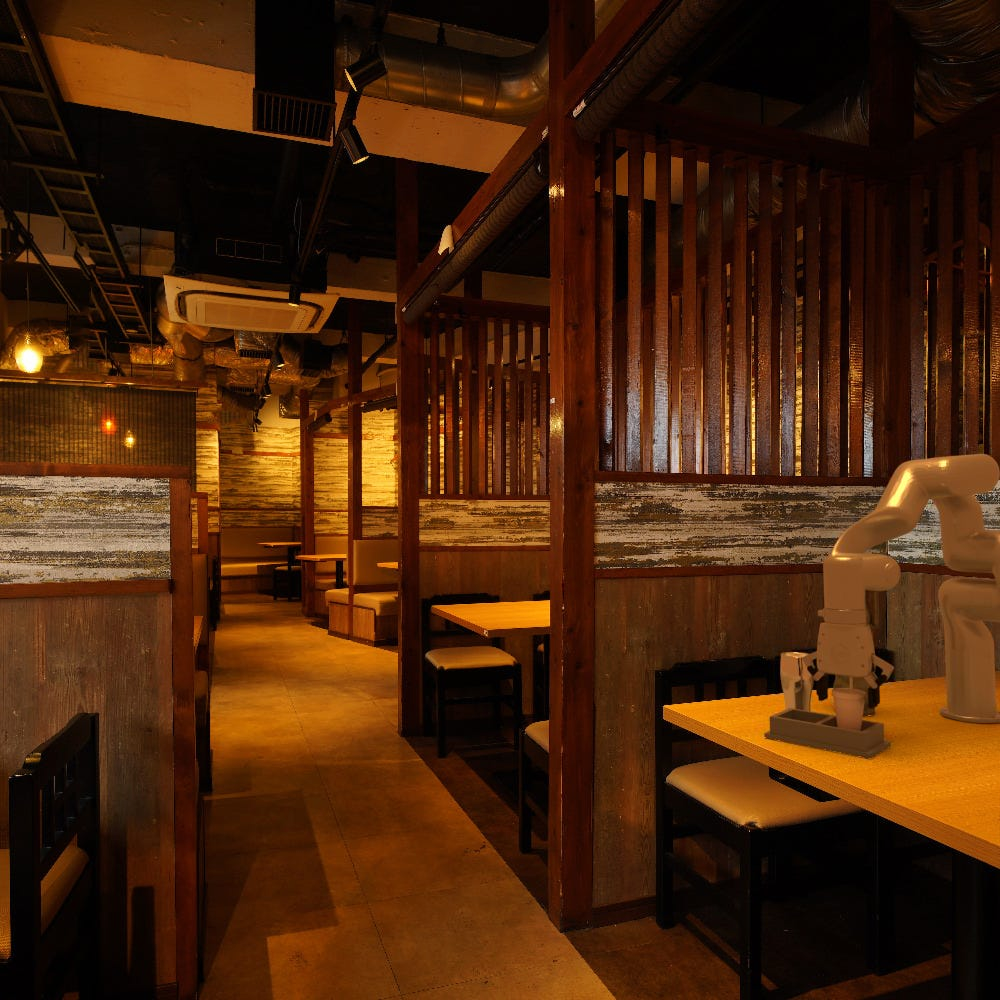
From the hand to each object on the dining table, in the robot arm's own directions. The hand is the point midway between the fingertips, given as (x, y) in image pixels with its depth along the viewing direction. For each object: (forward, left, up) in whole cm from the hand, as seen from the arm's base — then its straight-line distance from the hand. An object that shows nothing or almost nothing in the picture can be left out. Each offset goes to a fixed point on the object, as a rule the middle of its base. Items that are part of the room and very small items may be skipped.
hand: (847, 703), depth 149 cm
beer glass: (-12, -15, -9) cm, 21 cm away
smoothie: (0, 0, -7) cm, 8 cm away
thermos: (-29, -9, -9) cm, 32 cm away
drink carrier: (0, -4, -8) cm, 10 cm away
